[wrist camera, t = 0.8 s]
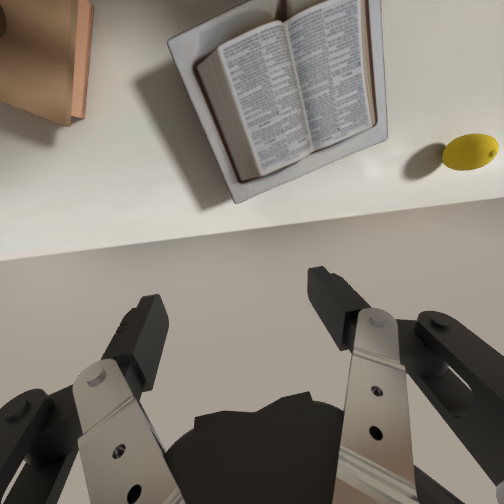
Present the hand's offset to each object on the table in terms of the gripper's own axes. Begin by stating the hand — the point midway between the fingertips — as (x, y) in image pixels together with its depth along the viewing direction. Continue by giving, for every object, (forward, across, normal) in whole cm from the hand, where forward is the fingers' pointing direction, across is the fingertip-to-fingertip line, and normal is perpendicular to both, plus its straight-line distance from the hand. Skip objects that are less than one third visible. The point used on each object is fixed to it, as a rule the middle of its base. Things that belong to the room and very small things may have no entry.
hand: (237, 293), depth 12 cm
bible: (+28, -11, -12) cm, 32 cm away
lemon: (+28, -41, -2) cm, 50 cm away
